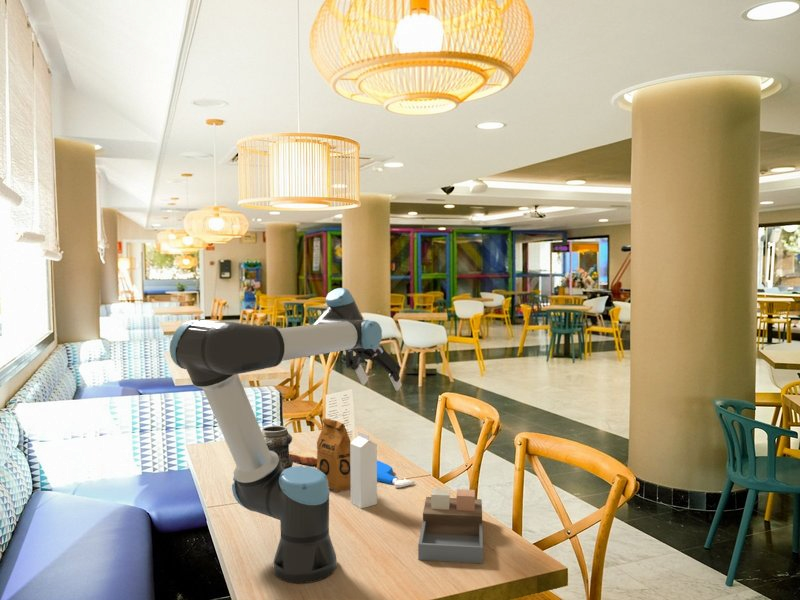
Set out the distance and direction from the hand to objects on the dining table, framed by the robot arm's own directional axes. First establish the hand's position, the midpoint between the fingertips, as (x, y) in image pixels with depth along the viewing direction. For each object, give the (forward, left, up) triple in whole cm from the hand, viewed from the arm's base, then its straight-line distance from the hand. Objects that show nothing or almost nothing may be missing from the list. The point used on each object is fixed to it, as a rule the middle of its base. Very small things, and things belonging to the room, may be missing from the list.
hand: (381, 384), depth 192 cm
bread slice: (+32, +34, -36) cm, 59 cm away
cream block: (-21, -20, -30) cm, 42 cm away
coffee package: (+7, +17, -36) cm, 40 cm away
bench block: (-21, -23, -36) cm, 48 cm away
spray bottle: (+17, +2, -36) cm, 40 cm away
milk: (-7, +5, -36) cm, 37 cm away
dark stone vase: (+10, +39, -36) cm, 54 cm away
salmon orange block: (-21, -27, -30) cm, 45 cm away
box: (-34, -23, -36) cm, 55 cm away
